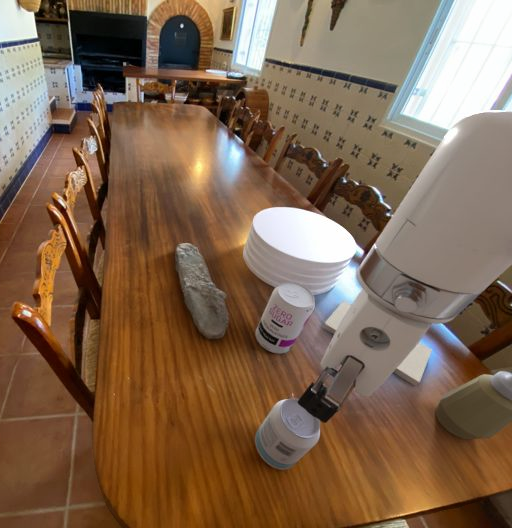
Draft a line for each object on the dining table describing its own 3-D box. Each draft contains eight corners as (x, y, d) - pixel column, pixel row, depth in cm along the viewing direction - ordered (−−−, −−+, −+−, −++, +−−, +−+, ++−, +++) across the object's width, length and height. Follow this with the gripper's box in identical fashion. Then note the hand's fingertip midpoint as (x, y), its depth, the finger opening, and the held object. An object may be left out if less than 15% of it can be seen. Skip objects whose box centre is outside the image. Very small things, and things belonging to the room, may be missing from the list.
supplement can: (290, 331, 70) (315, 285, 61) (291, 360, 64) (319, 314, 55) (255, 321, 72) (275, 275, 62) (253, 348, 66) (274, 302, 56)
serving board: (428, 353, 68) (432, 349, 67) (415, 386, 62) (419, 382, 61) (340, 303, 79) (343, 299, 78) (321, 326, 72) (324, 322, 71)
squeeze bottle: (439, 439, 54) (524, 389, 42) (420, 396, 60) (490, 343, 48) (490, 452, 52) (590, 405, 41) (465, 407, 59) (547, 356, 47)
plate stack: (320, 241, 102) (335, 212, 94) (352, 301, 80) (375, 268, 73) (238, 232, 102) (247, 202, 95) (249, 288, 81) (261, 255, 74)
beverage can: (303, 457, 50) (335, 428, 42) (274, 480, 47) (302, 453, 39) (273, 419, 54) (297, 386, 47) (245, 438, 51) (265, 407, 44)
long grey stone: (198, 251, 94) (167, 254, 93) (200, 237, 91) (168, 240, 90) (238, 339, 67) (195, 344, 65) (242, 323, 64) (197, 329, 62)
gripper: (460, 374, 18) (334, 467, 29) (474, 255, 28) (377, 357, 39) (333, 306, 22) (264, 411, 32) (386, 223, 32) (321, 324, 43)
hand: (326, 382), depth 36 cm, fingers open, 9 cm apart
